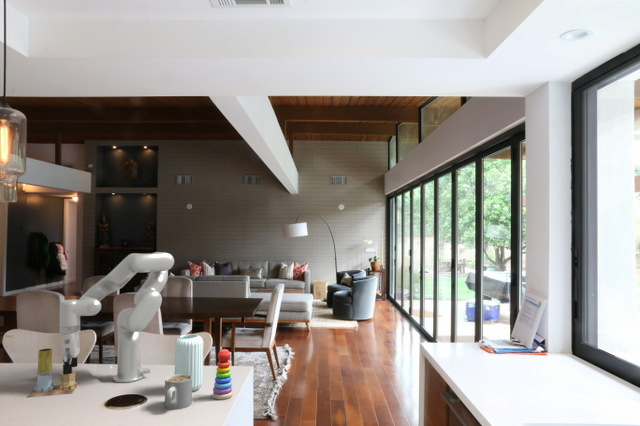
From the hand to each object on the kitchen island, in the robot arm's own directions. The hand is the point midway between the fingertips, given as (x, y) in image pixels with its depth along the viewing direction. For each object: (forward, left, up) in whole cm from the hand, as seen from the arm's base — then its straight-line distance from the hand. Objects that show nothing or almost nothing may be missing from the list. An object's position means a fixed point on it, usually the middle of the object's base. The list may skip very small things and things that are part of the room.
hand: (70, 370), depth 188 cm
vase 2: (-48, +13, -8) cm, 50 cm away
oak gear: (+1, 0, -7) cm, 7 cm away
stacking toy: (-61, +26, -9) cm, 67 cm away
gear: (+9, 0, -7) cm, 12 cm away
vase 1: (+13, -15, -8) cm, 21 cm away
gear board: (+5, +2, -8) cm, 10 cm away
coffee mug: (-43, +31, -9) cm, 54 cm away
